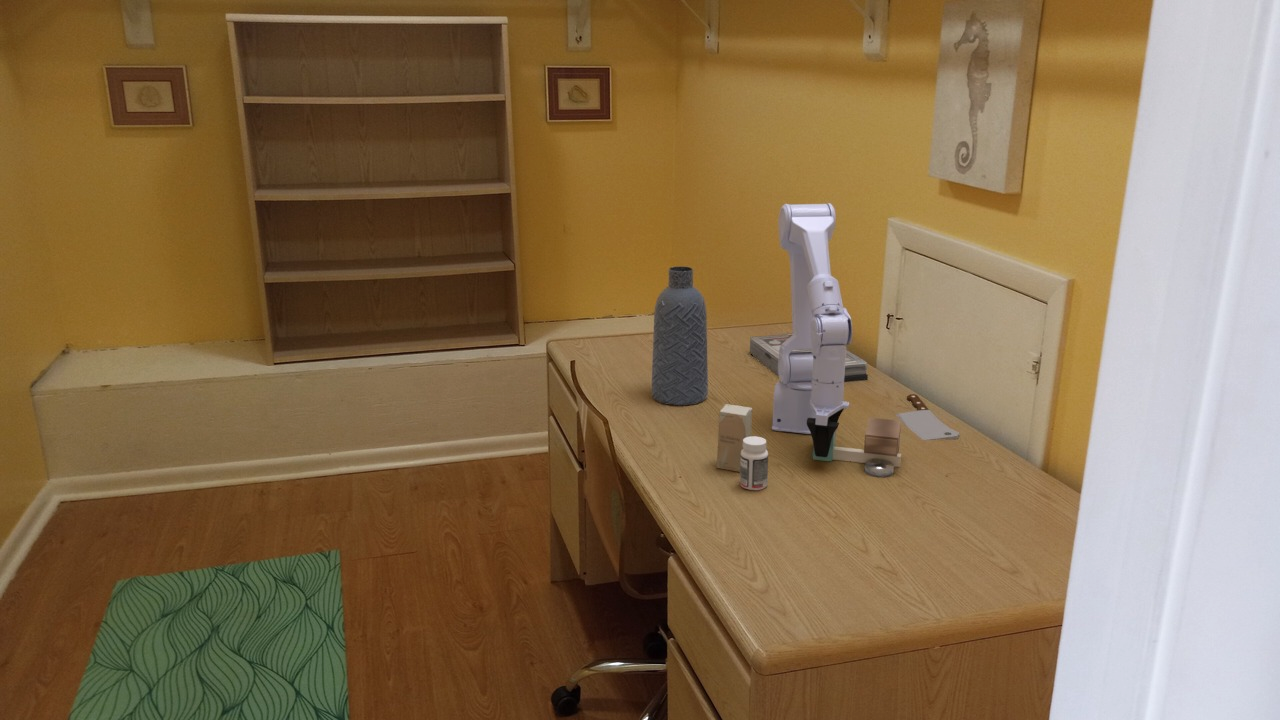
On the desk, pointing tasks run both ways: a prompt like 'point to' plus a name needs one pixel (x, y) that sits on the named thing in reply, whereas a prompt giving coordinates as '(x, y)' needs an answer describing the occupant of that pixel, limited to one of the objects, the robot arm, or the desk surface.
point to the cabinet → (882, 437)
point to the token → (879, 467)
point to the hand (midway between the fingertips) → (824, 448)
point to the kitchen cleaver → (925, 422)
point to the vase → (680, 342)
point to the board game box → (769, 351)
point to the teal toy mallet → (854, 455)
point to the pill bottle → (754, 463)
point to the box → (732, 435)
